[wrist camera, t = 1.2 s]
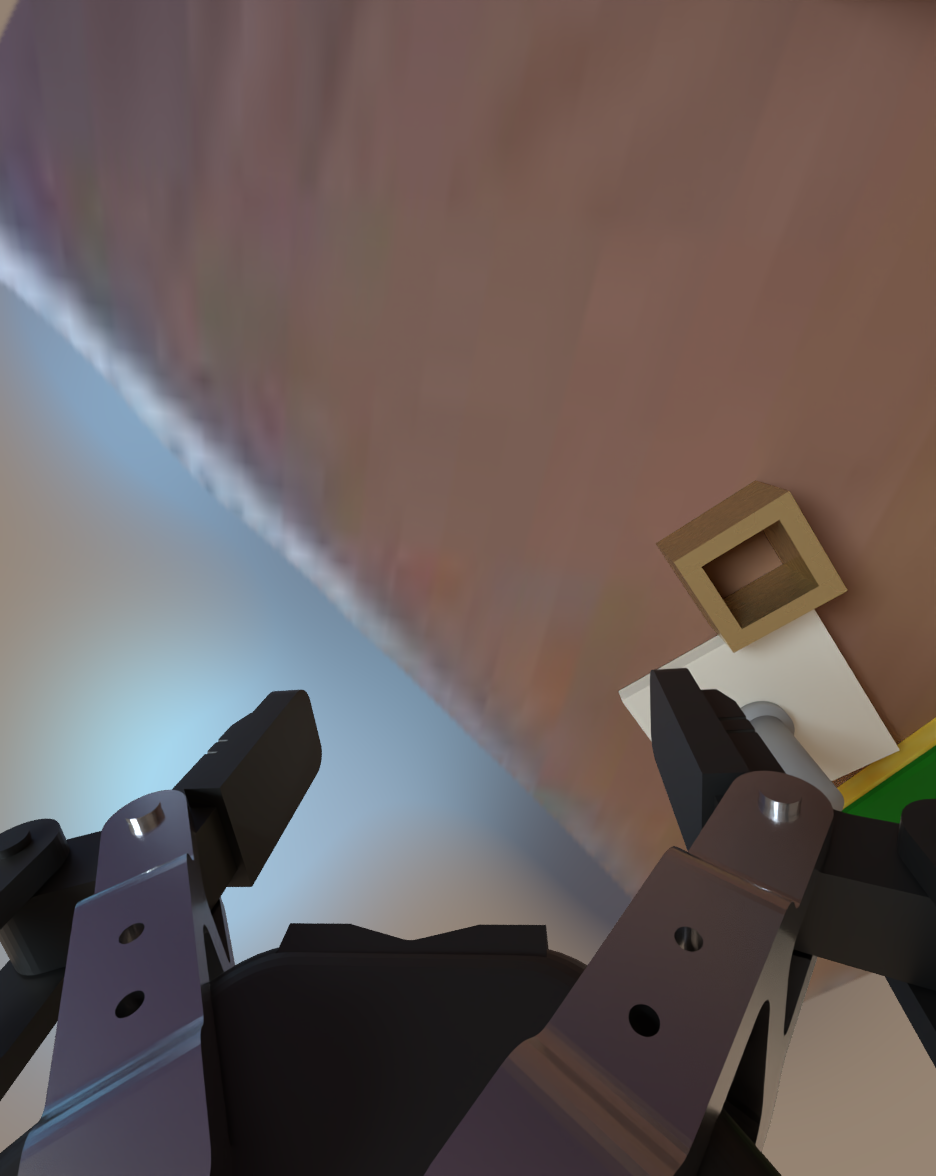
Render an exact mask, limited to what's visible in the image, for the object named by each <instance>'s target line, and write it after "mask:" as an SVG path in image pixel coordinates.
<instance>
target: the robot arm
mask: <svg viewBox="0 0 936 1176" xmlns="http://www.w3.org/2000/svg"><path fill="white" fill-rule="evenodd" d="M650 716H651V740H652V747H653V753H654V757H655V760H656V763H657V766H658V769H659V772H660V775H661V777H662V780H663V783H664V786H665V789H666V791H667V794H668V797H669V800H670V803H671V805H672V808H673V811H674V814H675V817H676V819H677V822H678V825H679V828H680V831H681V834H682V836H683V839H684V842H685V845H686V848H687V850H688V852H687V851H684V850H682V849H680V848H678V847H675V846H673V847H671V848H669V849H668V850H667V851H666V852H665V853H664V855H663V856H662V858H661V859H660V860H659V862H658V863H657V865H656V866H655V868H654V869H653V871H652V872H651V874H650V875H649V877H648V878H647V879H646V881H645V882H644V884H643V885H642V887H641V888H640V890H639V891H638V893H637V894H636V896H635V897H634V898H633V900H632V901H631V903H630V904H629V906H628V907H627V909H626V910H625V912H624V913H623V915H622V916H621V917H620V919H619V920H618V922H617V923H616V925H615V926H614V928H613V929H612V931H611V932H610V933H609V935H608V936H607V938H606V939H605V941H604V942H603V944H602V945H601V947H600V948H599V950H598V951H597V952H596V954H595V956H594V957H593V958H592V960H591V961H590V963H589V964H588V965H586V964H584V963H582V962H580V961H579V960H577V959H574V958H572V957H570V956H567V955H565V954H563V953H560V952H556V951H553V950H549V949H548V941H547V931H546V925H476V926H472V927H468V928H464V929H459V930H455V931H451V932H447V933H443V934H438V935H434V936H430V937H426V938H421V939H417V940H403V939H400V938H397V937H393V936H390V935H387V934H383V933H380V932H376V931H372V930H369V929H366V928H362V927H359V926H355V925H352V924H304V923H303V924H301V923H299V924H298V923H297V924H296V923H293V924H292V923H291V924H290V925H289V927H288V929H287V932H286V934H285V936H284V938H283V940H282V942H281V945H280V947H279V948H275V949H272V950H269V951H266V952H263V953H260V954H257V955H255V956H253V957H251V958H249V959H247V960H244V961H242V962H241V963H239V964H237V965H235V962H234V957H233V951H232V945H231V940H230V935H229V929H228V923H227V918H226V913H225V908H224V905H223V902H222V900H221V895H222V893H223V892H224V890H225V889H226V887H252V886H253V884H254V882H255V880H256V879H257V877H258V875H259V874H260V872H261V870H262V868H263V867H264V865H265V863H266V861H267V860H268V858H269V856H270V854H271V853H272V851H273V849H274V847H275V846H276V844H277V842H278V841H279V839H280V837H281V835H282V834H283V832H284V830H285V828H286V827H287V825H288V823H289V822H290V820H291V818H292V816H293V815H294V813H295V811H296V809H297V807H298V806H299V804H300V802H301V801H302V799H303V797H304V796H305V794H306V792H307V790H308V789H309V787H310V785H311V783H312V782H313V780H314V778H315V776H316V775H317V773H318V771H319V768H320V764H321V757H322V749H321V743H320V739H319V735H318V731H317V727H316V723H315V719H314V714H313V710H312V706H311V703H310V699H309V696H308V694H307V692H305V691H304V690H288V691H274V692H271V693H270V694H269V695H268V696H267V697H266V698H265V699H264V700H263V701H262V702H261V704H260V705H259V706H258V707H257V708H256V709H255V710H254V711H253V713H250V714H249V715H247V716H245V717H244V718H242V719H241V720H239V721H238V722H236V723H235V724H233V725H232V726H231V727H230V728H229V729H228V730H227V731H226V732H225V733H224V734H223V735H222V736H221V737H220V739H219V741H218V742H217V743H215V744H214V745H213V746H212V747H211V748H210V749H209V750H208V754H205V755H204V756H203V757H202V758H201V759H200V760H199V761H198V762H197V763H196V764H195V765H194V766H193V768H192V769H191V770H190V771H189V772H188V773H187V774H186V775H185V776H184V777H183V778H182V779H181V780H180V781H179V783H178V784H177V785H176V786H175V787H174V788H173V789H172V790H163V791H158V792H154V793H151V794H147V795H145V796H142V797H140V798H138V799H136V800H134V801H132V802H130V803H128V804H127V805H125V806H124V807H122V808H121V809H119V810H118V811H117V812H116V813H115V814H113V815H112V816H111V817H110V818H109V819H108V821H107V822H106V823H105V825H104V827H103V829H102V831H99V832H95V833H91V834H88V835H84V836H79V837H75V838H71V839H67V840H66V838H65V836H64V834H63V831H62V829H61V827H60V825H59V823H58V822H57V821H56V820H53V819H38V820H34V821H30V822H26V823H23V824H21V825H18V826H15V827H13V828H11V829H9V830H6V831H5V832H3V833H1V834H0V942H1V944H2V946H3V947H4V949H5V951H6V953H7V955H8V957H9V959H10V960H9V961H8V962H7V964H6V965H5V966H4V967H3V968H2V969H1V970H0V1101H1V1099H2V1098H3V1097H4V1095H5V1093H6V1092H7V1091H8V1090H9V1088H10V1087H11V1085H12V1084H13V1082H14V1081H15V1080H16V1078H17V1077H18V1076H19V1074H20V1073H21V1071H22V1070H23V1069H24V1067H25V1066H26V1064H27V1063H28V1061H29V1060H30V1059H31V1057H32V1056H33V1055H34V1053H35V1052H36V1050H37V1049H38V1048H39V1046H40V1045H41V1043H42V1042H43V1041H44V1039H45V1038H46V1036H47V1035H48V1034H49V1032H50V1031H51V1029H52V1028H53V1026H54V1025H55V1024H56V1022H57V1021H58V1022H57V1029H56V1036H55V1043H54V1049H53V1055H52V1062H51V1069H50V1075H49V1082H48V1088H47V1095H46V1102H45V1107H44V1111H43V1114H42V1117H41V1119H40V1120H39V1122H38V1123H37V1124H35V1125H34V1126H33V1127H32V1128H30V1129H29V1130H28V1131H27V1132H25V1133H24V1134H23V1135H22V1136H21V1137H20V1138H18V1139H17V1140H16V1141H15V1142H13V1143H12V1144H11V1145H10V1146H8V1147H7V1148H6V1149H5V1150H3V1151H2V1152H1V1153H0V1176H781V1174H780V1173H779V1172H778V1171H777V1170H776V1169H775V1167H774V1166H773V1165H772V1164H771V1163H770V1162H769V1161H768V1159H767V1158H766V1157H765V1156H764V1155H763V1154H762V1149H763V1146H764V1143H765V1139H766V1136H767V1133H768V1129H769V1126H770V1122H771V1118H772V1115H773V1111H774V1107H775V1102H776V1098H777V1093H778V1088H779V1083H780V1077H781V1073H782V1068H783V1064H784V1060H785V1057H786V1053H787V1050H788V1047H789V1044H790V1041H791V1038H792V1035H793V1031H794V1028H795V1025H796V1022H797V1019H798V1016H799V1013H800V1010H801V1006H802V1003H803V1000H804V997H805V994H806V991H807V988H808V985H809V982H810V978H811V975H812V972H813V969H814V966H815V963H816V960H817V956H818V957H821V958H824V959H828V960H831V961H835V962H838V963H841V964H845V965H848V966H852V967H855V968H859V969H862V970H865V971H869V972H872V973H876V974H879V975H882V976H885V977H886V980H887V981H888V983H889V985H890V987H891V988H892V990H893V992H894V994H895V996H896V997H897V999H898V1001H899V1003H900V1005H901V1006H902V1008H903V1010H904V1012H905V1014H906V1015H907V1017H908V1019H909V1021H910V1023H911V1024H912V1026H913V1028H914V1030H915V1032H916V1033H917V1035H918V1037H919V1039H920V1040H921V1042H922V1044H923V1046H924V1048H925V1049H926V1051H927V1053H928V1055H929V1056H930V1058H931V1060H932V1062H933V1064H934V1065H935V1067H936V799H923V800H917V801H914V802H911V803H909V804H908V805H906V806H905V808H904V809H903V810H902V814H901V819H900V823H894V822H889V821H883V820H878V819H873V818H867V817H862V816H857V815H852V814H848V813H844V812H841V811H838V810H835V809H833V807H832V805H831V802H830V801H829V800H828V798H827V797H826V796H825V795H824V794H823V793H822V792H821V791H820V790H819V789H817V788H816V787H815V786H813V785H811V784H810V783H808V782H806V781H804V780H802V779H800V778H797V777H795V776H792V775H788V774H786V773H785V771H784V770H783V768H782V767H781V766H780V764H779V763H778V761H777V760H776V758H775V757H774V756H773V754H772V753H771V751H770V750H769V748H768V747H767V746H766V744H765V743H764V741H763V740H762V738H761V737H760V736H759V734H758V733H757V732H755V728H754V727H753V726H752V724H751V723H750V721H749V720H748V719H746V716H745V714H744V713H743V711H742V710H741V708H740V707H739V706H738V704H737V703H736V701H734V700H733V699H731V698H730V697H728V696H726V695H725V694H723V693H722V692H720V691H719V690H717V689H705V690H701V689H700V688H699V686H698V684H697V683H696V681H695V679H694V678H693V676H692V674H691V673H690V671H689V670H688V669H687V668H673V669H656V670H651V673H650Z"/></svg>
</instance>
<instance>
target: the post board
mask: <svg viewBox="0 0 936 1176" xmlns="http://www.w3.org/2000/svg"><path fill="white" fill-rule="evenodd" d="M673 668H687V669H688V670H689V671H690V673H691V674H692V676H693V678H694V679H695V681H696V683H697V684H698V686H699V688H700V689H701V690H705V689H717V690H719V691H720V692H722V693H723V694H725V695H726V696H728V697H730V698H731V699H733V700H734V701H736V703H737V704H738V706H739V707H740V708H741V710H742V711H743V713H744V714H745V716H746V719H748V720H749V721H750V723H751V724H752V726H753V727H754V728H755V732H757V733H758V734H759V736H760V737H761V738H762V740H763V741H764V743H765V744H766V746H767V747H768V748H769V750H770V751H771V753H772V754H773V756H774V757H775V758H776V760H777V761H778V763H779V764H780V766H781V767H782V768H783V770H784V771H785V773H786V774H788V775H792V776H795V777H797V778H800V779H802V780H804V781H806V782H808V783H810V784H811V785H813V786H815V787H816V788H817V789H819V790H820V791H821V792H822V793H823V794H824V795H825V796H826V797H827V798H828V800H829V801H830V802H831V805H832V807H833V809H835V810H838V811H842V809H843V807H844V798H843V795H842V794H841V792H840V791H839V790H838V789H837V788H836V786H835V785H834V784H833V783H832V781H833V780H835V779H838V778H840V777H842V776H844V775H847V774H849V773H851V772H853V771H855V770H858V769H860V768H862V767H864V766H866V765H869V764H871V763H873V762H875V761H877V760H880V759H882V758H884V757H886V756H888V755H891V754H893V753H895V752H897V751H900V750H899V748H898V746H897V745H896V743H895V741H894V740H893V738H892V736H891V735H890V733H889V731H888V730H887V728H886V727H885V725H884V723H883V722H882V720H881V718H880V717H879V715H878V713H877V712H876V710H875V708H874V707H873V705H872V703H871V702H870V700H869V698H868V697H867V695H866V694H865V692H864V690H863V689H862V687H861V685H860V684H859V682H858V680H857V679H856V677H855V675H854V674H853V672H852V670H851V669H850V667H849V666H848V664H847V662H846V661H845V659H844V657H843V656H842V654H841V652H840V651H839V649H838V647H837V646H836V644H835V642H834V641H833V639H832V638H831V636H830V634H829V633H828V631H827V629H826V628H825V626H824V624H823V623H822V621H821V619H820V618H819V616H818V614H817V613H816V611H815V610H814V609H813V610H812V611H810V612H808V613H806V614H804V615H802V616H801V617H799V618H797V619H795V620H793V621H791V622H790V623H788V624H786V625H784V626H782V627H780V628H779V629H777V630H775V631H773V632H771V633H769V634H768V635H766V636H764V637H762V638H760V639H758V640H757V641H755V642H753V643H751V644H749V645H747V646H746V647H744V648H742V649H740V650H738V651H737V652H735V653H733V652H732V650H731V649H730V648H729V647H728V646H727V645H726V643H725V642H724V641H723V640H722V639H721V638H720V636H719V635H718V636H716V637H714V638H712V639H711V640H709V641H707V642H705V643H703V644H702V645H700V646H698V647H696V648H694V649H693V650H691V651H689V652H687V653H686V654H684V655H682V656H680V657H678V658H677V659H675V660H673V661H671V662H670V663H668V664H666V665H664V666H662V667H661V668H659V669H673ZM619 694H620V697H621V700H622V702H623V703H624V705H625V706H626V707H627V709H628V710H629V711H630V713H631V714H632V715H633V717H634V718H635V720H636V721H637V722H638V724H639V725H640V726H641V728H642V729H643V730H644V732H645V733H646V735H647V736H648V737H649V739H650V740H651V716H650V674H648V675H646V676H645V677H643V678H641V679H639V680H637V681H636V682H634V683H632V684H630V685H629V686H627V687H625V688H623V689H621V690H620V691H619ZM651 741H652V740H651Z"/></svg>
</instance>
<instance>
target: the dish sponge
mask: <svg viewBox="0 0 936 1176" xmlns="http://www.w3.org/2000/svg"><path fill="white" fill-rule="evenodd" d="M897 746H898V748H899V750H900V751H897V752H895V753H893V754H891V755H888V756H886V757H884V758H882V759H880V760H877V761H875V762H873V763H871V764H870V765H868V766H867V767H866V768H864V769H863V770H861V771H860V772H859V773H857V774H856V775H854V776H853V777H852V778H850V779H849V780H847V781H846V782H845V783H843V784H842V785H840V786H839V787H838V788H837V789H838V790H839V791H840V792H841V794H842V795H843V798H844V807H843V809H842V811H841V812H844V813H848V814H852V815H857V816H862V817H867V818H873V819H878V820H883V821H889V822H894V823H900V819H901V814H902V810H903V809H904V808H905V806H906V805H908V804H909V803H911V802H914V801H917V800H923V799H936V718H934V719H933V720H932V721H930V722H929V723H927V724H926V725H925V726H923V727H922V728H920V729H919V730H918V731H916V732H915V733H913V734H912V735H911V736H909V737H908V738H906V739H905V740H904V741H902V742H901V743H899V744H898V745H897Z"/></svg>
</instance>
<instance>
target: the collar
mask: <svg viewBox="0 0 936 1176" xmlns="http://www.w3.org/2000/svg"><path fill="white" fill-rule="evenodd" d="M761 530H763V532H764V534H765V535H766V537H767V539H768V540H769V542H770V544H771V545H772V547H773V549H774V550H775V552H776V553H777V555H778V557H779V558H780V560H781V562H782V563H783V565H781V566H780V567H778V568H776V569H774V570H773V571H771V572H769V573H768V574H766V575H764V576H762V577H761V578H759V579H757V580H755V581H754V582H752V583H750V584H749V585H747V586H745V587H743V588H742V589H740V590H738V591H736V592H735V593H733V594H731V595H730V596H728V597H726V598H724V599H722V598H721V596H720V595H719V593H718V592H717V590H716V588H715V587H714V585H713V584H712V582H711V581H710V579H709V578H708V576H707V575H706V573H705V571H704V570H703V568H702V566H704V565H705V564H707V563H708V562H710V561H712V560H713V559H715V558H717V557H718V556H720V555H722V554H723V553H725V552H727V551H728V550H730V549H732V548H733V547H735V546H737V545H738V544H740V543H742V542H743V541H745V540H747V539H748V538H750V537H752V536H753V535H755V534H756V533H758V532H760V531H761ZM656 545H657V546H658V548H659V549H660V551H661V552H662V554H663V555H664V557H665V558H666V560H667V561H668V563H669V564H670V566H671V567H672V569H673V570H674V572H675V573H676V575H677V576H678V578H679V579H680V581H681V582H682V584H683V585H684V587H685V589H686V590H687V592H688V593H689V595H690V596H691V598H692V599H693V601H694V602H695V604H696V605H697V607H698V608H699V610H700V611H701V613H702V614H703V616H704V617H705V619H706V620H707V622H708V623H709V625H710V626H711V627H712V628H713V629H714V631H715V632H716V633H717V634H718V635H719V636H720V638H721V639H722V640H723V641H724V642H725V643H726V645H727V646H728V647H729V648H730V649H731V650H732V652H733V653H735V652H737V651H738V650H740V649H742V648H744V647H746V646H747V645H749V644H751V643H753V642H755V641H757V640H758V639H760V638H762V637H764V636H766V635H768V634H769V633H771V632H773V631H775V630H777V629H779V628H780V627H782V626H784V625H786V624H788V623H790V622H791V621H793V620H795V619H797V618H799V617H801V616H802V615H804V614H806V613H808V612H810V611H812V610H813V609H815V608H817V607H819V606H821V605H822V604H824V603H826V602H828V601H830V600H832V599H833V598H835V597H837V596H839V595H841V594H843V593H844V592H846V591H847V589H846V587H845V585H844V584H843V582H842V580H841V579H840V577H839V575H838V573H837V572H836V570H835V568H834V567H833V565H832V563H831V561H830V560H829V558H828V556H827V555H826V553H825V551H824V550H823V548H822V546H821V544H820V543H819V541H818V539H817V538H816V536H815V534H814V532H813V531H812V529H811V527H810V526H809V524H808V522H807V520H806V519H805V517H804V515H803V514H802V512H801V510H800V509H799V507H798V505H797V503H796V502H795V500H794V498H793V497H792V495H791V493H790V491H787V490H784V489H781V488H778V487H775V486H771V485H768V484H765V483H762V482H758V481H754V482H753V483H751V484H749V485H748V486H746V487H745V488H743V489H741V490H740V491H738V492H737V493H735V494H734V495H732V496H730V497H729V498H727V499H726V500H724V501H723V502H721V503H719V504H718V505H716V506H715V507H713V508H711V509H710V510H708V511H707V512H705V513H704V514H702V515H700V516H699V517H697V518H696V519H694V520H692V521H691V522H689V523H688V524H686V525H685V526H683V527H681V528H680V529H678V530H677V531H675V532H674V533H672V534H670V535H669V536H667V537H666V538H664V539H662V540H661V541H659V542H658V543H656Z"/></svg>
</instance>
